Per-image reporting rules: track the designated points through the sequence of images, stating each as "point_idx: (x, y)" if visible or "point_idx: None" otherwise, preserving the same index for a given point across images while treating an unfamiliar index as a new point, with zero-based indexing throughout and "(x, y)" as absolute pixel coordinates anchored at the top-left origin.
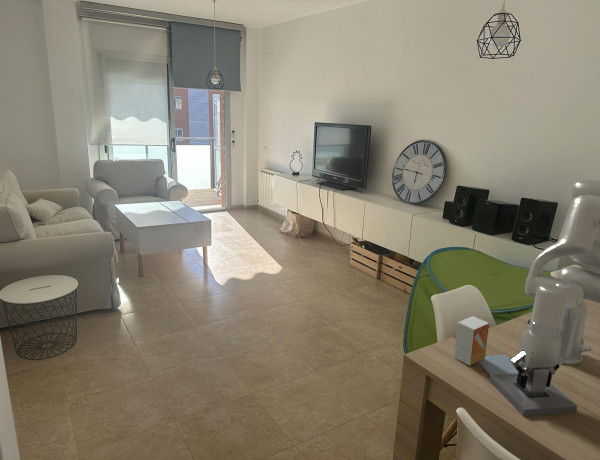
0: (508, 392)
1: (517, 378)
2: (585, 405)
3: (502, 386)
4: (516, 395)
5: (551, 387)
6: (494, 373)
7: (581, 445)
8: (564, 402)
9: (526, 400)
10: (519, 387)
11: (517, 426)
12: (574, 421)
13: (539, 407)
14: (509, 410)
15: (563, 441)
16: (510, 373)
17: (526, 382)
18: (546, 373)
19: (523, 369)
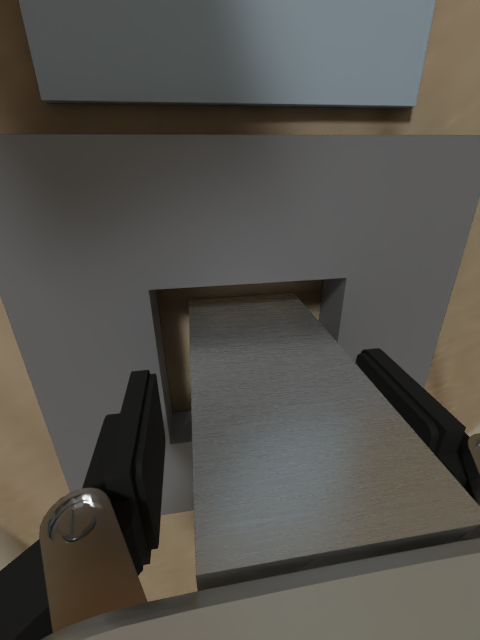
0: (45, 403)
1: (99, 442)
2: (468, 404)
3: (22, 335)
4: (96, 426)
5: (411, 341)
6: (79, 20)
7: None
8: None
9: None
10: (189, 316)
11: (29, 542)
12: None
13: (186, 504)
14: (33, 459)
15: (189, 576)
16: (264, 46)
17: (161, 485)
18: None
19: (193, 443)
